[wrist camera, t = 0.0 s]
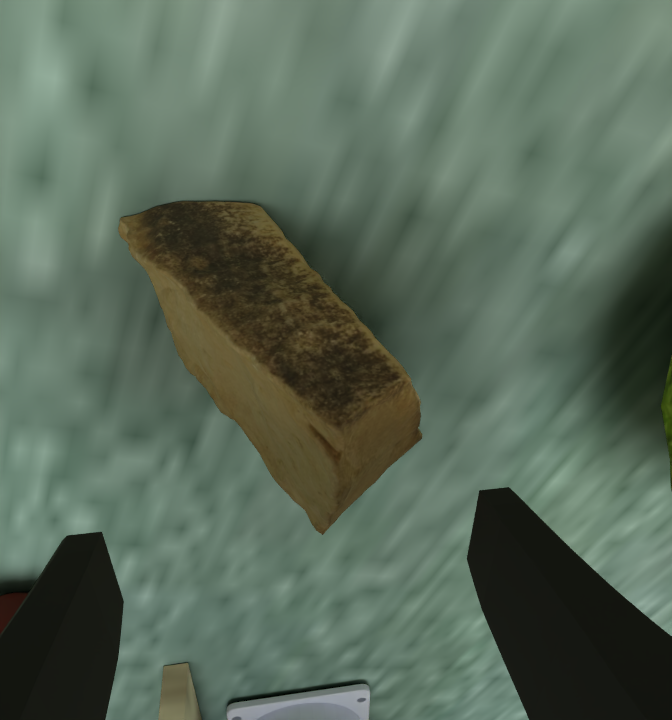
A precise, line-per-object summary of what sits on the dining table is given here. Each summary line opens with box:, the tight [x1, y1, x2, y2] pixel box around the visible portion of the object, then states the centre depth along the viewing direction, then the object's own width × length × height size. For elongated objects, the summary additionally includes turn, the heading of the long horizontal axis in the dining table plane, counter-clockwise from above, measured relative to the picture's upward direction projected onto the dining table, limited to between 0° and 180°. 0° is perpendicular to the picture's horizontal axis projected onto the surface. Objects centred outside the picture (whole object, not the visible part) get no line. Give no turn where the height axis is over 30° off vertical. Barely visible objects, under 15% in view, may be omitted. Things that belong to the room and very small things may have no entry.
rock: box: [118, 201, 422, 535], centre depth 18 cm, size 11×9×10 cm
